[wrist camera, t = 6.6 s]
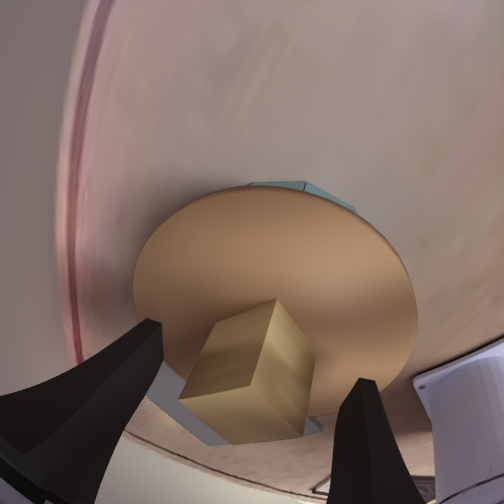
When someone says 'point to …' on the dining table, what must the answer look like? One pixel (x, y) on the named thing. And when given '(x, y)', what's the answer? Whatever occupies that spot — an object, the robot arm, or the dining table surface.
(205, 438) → the mat
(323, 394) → the lid
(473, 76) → the dining table surface
